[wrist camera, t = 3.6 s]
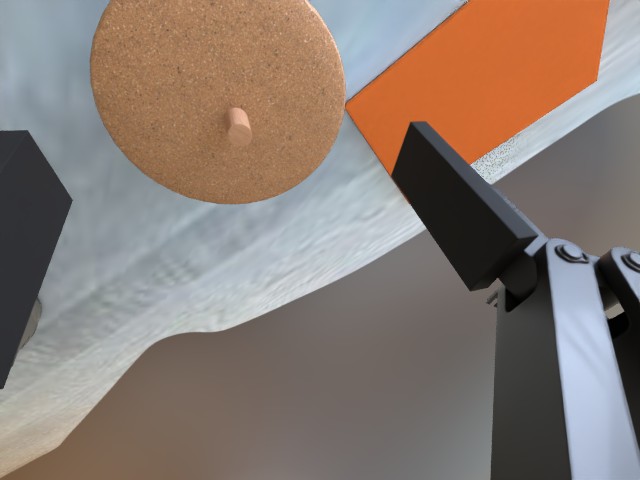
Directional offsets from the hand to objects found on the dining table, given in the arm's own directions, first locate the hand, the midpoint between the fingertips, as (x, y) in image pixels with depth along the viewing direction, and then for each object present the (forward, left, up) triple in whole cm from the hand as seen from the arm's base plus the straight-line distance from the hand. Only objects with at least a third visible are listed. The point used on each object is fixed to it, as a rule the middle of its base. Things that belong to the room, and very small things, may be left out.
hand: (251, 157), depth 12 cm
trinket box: (0, 0, -11) cm, 11 cm away
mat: (+21, -2, -11) cm, 24 cm away
